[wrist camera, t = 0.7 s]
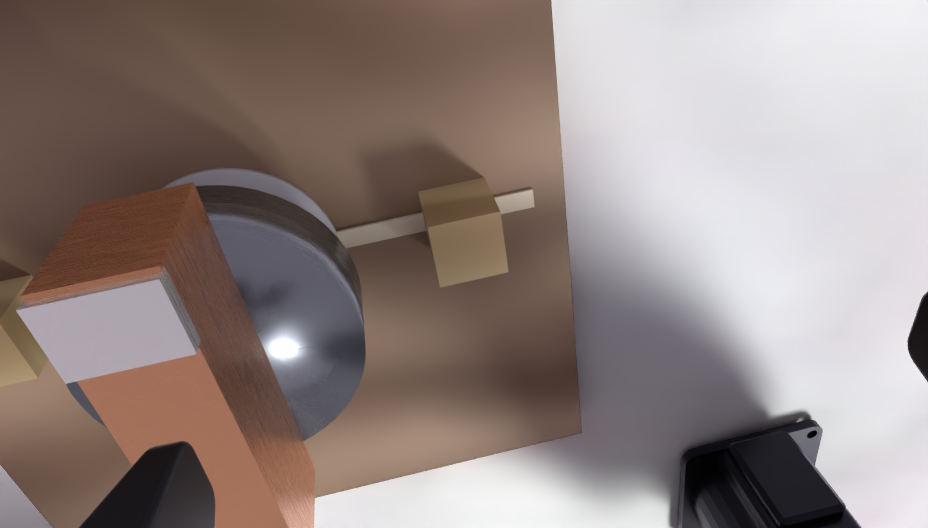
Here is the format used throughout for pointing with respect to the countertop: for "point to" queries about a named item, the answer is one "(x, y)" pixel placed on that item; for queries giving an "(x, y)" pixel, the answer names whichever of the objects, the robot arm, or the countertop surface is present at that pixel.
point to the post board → (308, 206)
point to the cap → (207, 336)
